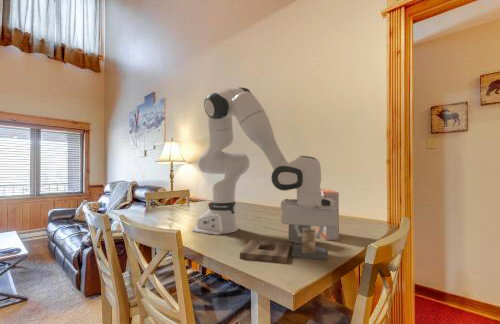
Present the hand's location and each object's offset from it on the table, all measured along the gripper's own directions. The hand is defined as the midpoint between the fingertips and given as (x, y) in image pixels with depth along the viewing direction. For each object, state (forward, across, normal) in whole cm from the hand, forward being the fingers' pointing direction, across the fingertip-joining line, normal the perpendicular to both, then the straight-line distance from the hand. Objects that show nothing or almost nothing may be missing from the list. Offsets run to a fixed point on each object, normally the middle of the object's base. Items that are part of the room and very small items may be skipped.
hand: (308, 237), depth 91 cm
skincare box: (+6, -4, +14) cm, 16 cm away
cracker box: (+6, +8, +25) cm, 27 cm away
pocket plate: (+6, -15, -4) cm, 16 cm away
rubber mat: (+6, 0, 0) cm, 6 cm away
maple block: (+5, 0, 0) cm, 5 cm away
